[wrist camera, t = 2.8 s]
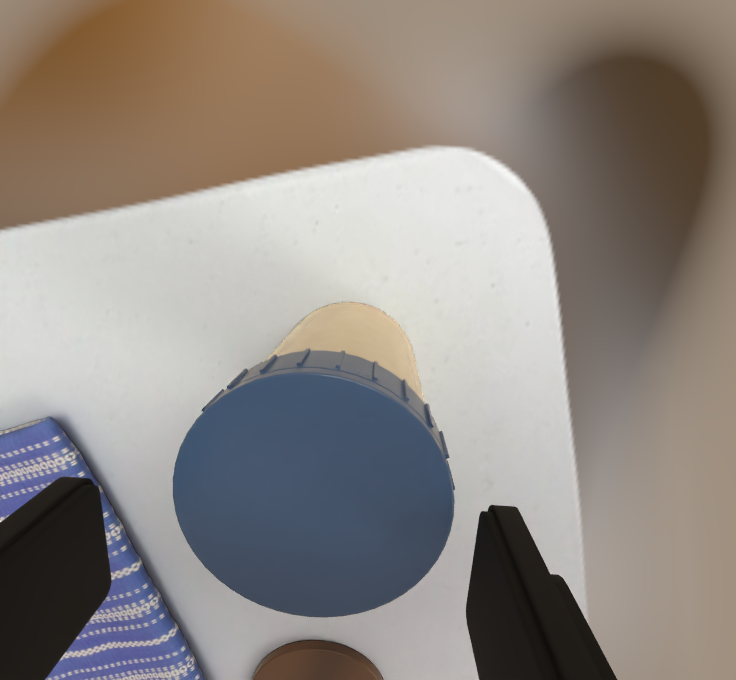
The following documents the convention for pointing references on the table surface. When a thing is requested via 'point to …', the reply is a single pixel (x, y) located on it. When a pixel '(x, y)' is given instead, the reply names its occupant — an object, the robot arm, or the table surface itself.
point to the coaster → (316, 663)
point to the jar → (356, 338)
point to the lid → (315, 485)
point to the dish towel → (129, 578)
